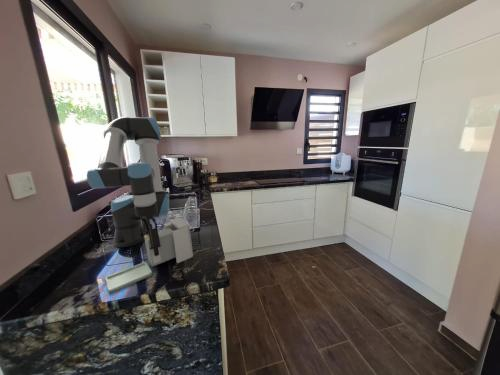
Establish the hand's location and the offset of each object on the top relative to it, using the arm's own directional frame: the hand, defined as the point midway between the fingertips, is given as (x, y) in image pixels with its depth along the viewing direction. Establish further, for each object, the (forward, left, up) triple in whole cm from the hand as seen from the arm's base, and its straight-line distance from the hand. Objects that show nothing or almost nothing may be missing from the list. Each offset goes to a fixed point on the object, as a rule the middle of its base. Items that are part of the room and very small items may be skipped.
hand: (154, 258), depth 79 cm
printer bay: (-1, +10, -3) cm, 11 cm away
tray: (+1, -10, -3) cm, 10 cm away
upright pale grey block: (0, +3, -1) cm, 3 cm away
